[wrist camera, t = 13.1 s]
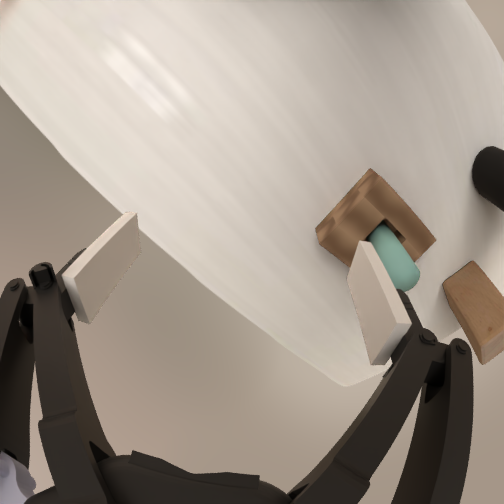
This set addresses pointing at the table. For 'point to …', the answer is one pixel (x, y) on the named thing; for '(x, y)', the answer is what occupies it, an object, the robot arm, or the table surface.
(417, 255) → the socket block
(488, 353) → the wooden block
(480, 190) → the coffee jar
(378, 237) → the pin
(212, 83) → the table surface
